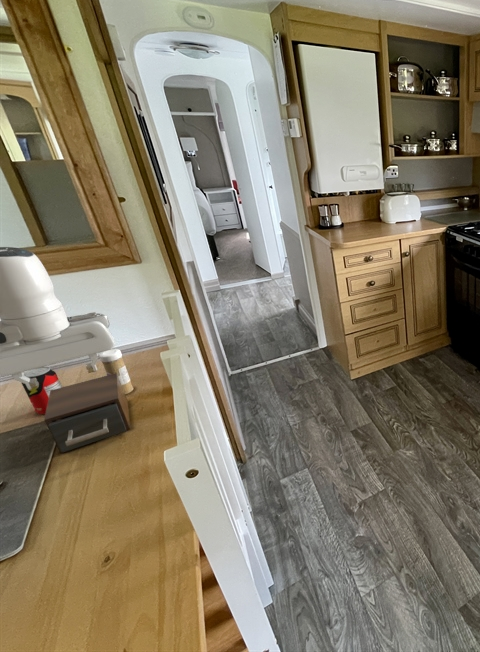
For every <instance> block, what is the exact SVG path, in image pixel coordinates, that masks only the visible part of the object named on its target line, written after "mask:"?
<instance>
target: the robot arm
mask: <svg viewBox="0 0 480 652" xmlns="http://www.w3.org/2000/svg"><path fill="white" fill-rule="evenodd" d="M54 287H55V286H54V284H53V281H52V279H51V277H50V275H49V273H48V271H47V269H46V268H45V266H44V265H43V263H42V261H41V260H40V258H39V256H37V255H36V254H35V253H34V252H33V251H30V250H28V249H26V248H21V247H13V246H0V378H4V377H8V376H11V377H12V379H13V380H14V381H17V382H20V383H21V382H22V383H25V384H26V386H27V388H28V390H29V389H33V388H36V387H39V383H38V382H37V379H36V378H31V379H30V378H28V377H26V376H24V375H23V374H24V373H25V372H27V371H29V370H32V369H36V368H40V367H49V366H52V365H55V364H59V363H63V362H68V361H71V360H72V361H73V360H75V359H79V358H84V357H88V358H89V359H90V362H89V363H86V364H85V369H86V370H87V373H88V374H92V373H95V372H98V366H97V364H96V363H97V362H98V358H99V354H101V353H102V352H105V351H107V350H112V349H114V347H115V346H116V340H115V338H114V336H113V334H112V333H111V330H110V329H109V327H110V320H109V318H108V317H107V316H106V315H105V314H103V313H96V311H95V312H88V313H86V314H80V315H79V314H78V315H72V316H68V315H67V313H66V311H65V308H64V306H63V304H62V302H61V301H60V300H59V299H58V298H57V296H56V294H55V288H54ZM22 383H21V384H22Z"/></svg>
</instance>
